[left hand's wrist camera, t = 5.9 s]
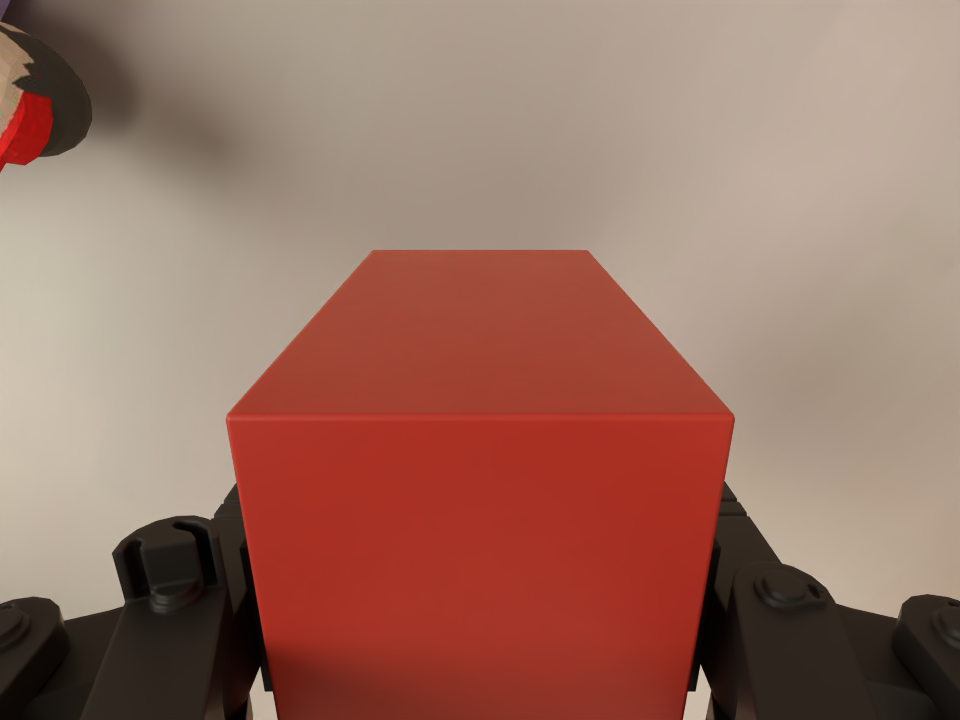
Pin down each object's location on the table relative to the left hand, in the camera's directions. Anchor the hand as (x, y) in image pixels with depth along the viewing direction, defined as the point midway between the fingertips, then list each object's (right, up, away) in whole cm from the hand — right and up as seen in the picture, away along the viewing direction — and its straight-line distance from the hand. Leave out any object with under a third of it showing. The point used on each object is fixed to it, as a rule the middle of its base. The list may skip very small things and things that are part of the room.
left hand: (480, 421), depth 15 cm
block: (0, 0, +1) cm, 1 cm away
